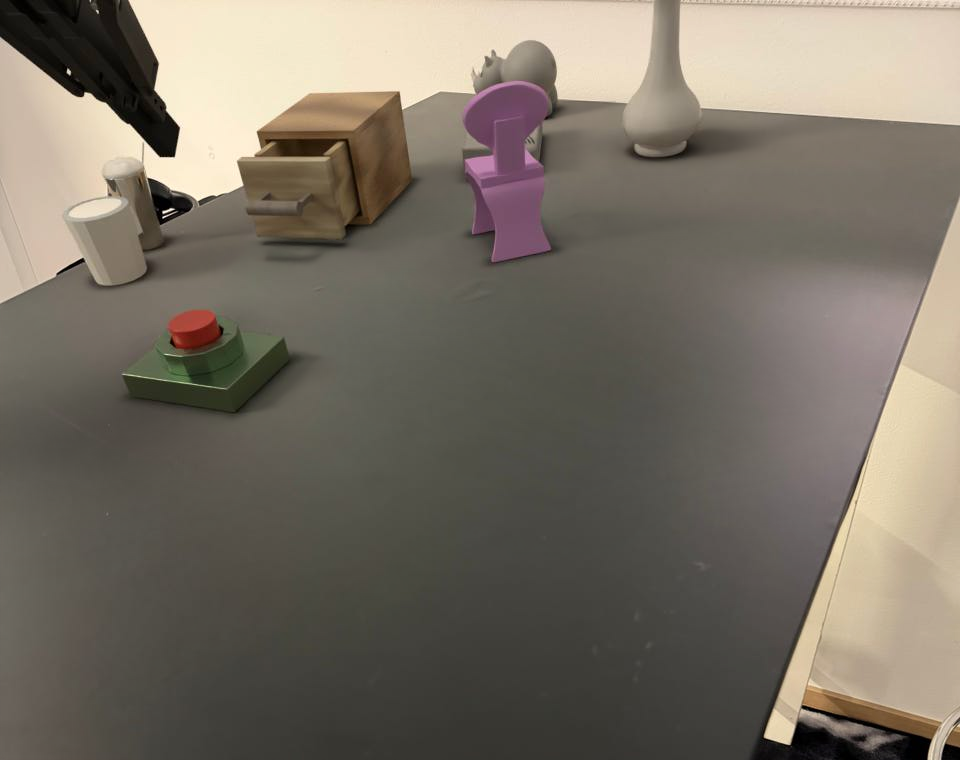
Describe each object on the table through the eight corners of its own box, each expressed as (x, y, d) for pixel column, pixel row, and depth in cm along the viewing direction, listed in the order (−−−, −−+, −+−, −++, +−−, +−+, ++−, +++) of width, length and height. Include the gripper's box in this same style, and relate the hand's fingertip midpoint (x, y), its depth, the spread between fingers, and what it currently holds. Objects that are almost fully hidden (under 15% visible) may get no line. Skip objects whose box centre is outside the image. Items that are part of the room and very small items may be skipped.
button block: (130, 396, 76) (112, 354, 73) (191, 346, 81) (176, 305, 79) (234, 412, 72) (219, 368, 69) (290, 359, 78) (278, 316, 75)
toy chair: (534, 218, 95) (526, 57, 84) (561, 248, 89) (556, 78, 78) (461, 233, 94) (443, 72, 83) (482, 264, 88) (466, 95, 77)
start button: (165, 348, 74) (157, 329, 72) (193, 326, 76) (186, 307, 75) (203, 353, 72) (196, 333, 71) (230, 330, 75) (224, 311, 74)
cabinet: (370, 224, 98) (353, 130, 91) (279, 222, 101) (256, 131, 94) (412, 180, 107) (399, 91, 100) (327, 179, 110) (309, 93, 103)
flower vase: (585, 135, 112) (582, -120, 94) (733, 129, 108) (759, -139, 90) (571, 172, 103) (565, -102, 85) (732, 167, 99) (761, -121, 81)
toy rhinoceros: (483, 106, 125) (477, 36, 119) (564, 105, 122) (562, 32, 116) (467, 122, 121) (460, 50, 115) (550, 121, 117) (548, 47, 111)
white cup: (165, 263, 96) (141, 196, 91) (124, 291, 92) (96, 222, 87) (118, 258, 98) (92, 192, 93) (76, 284, 94) (46, 217, 89)
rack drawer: (326, 255, 91) (308, 175, 85) (239, 252, 94) (216, 174, 88) (384, 195, 102) (372, 120, 96) (305, 194, 104) (288, 121, 99)
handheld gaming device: (464, 181, 105) (461, 146, 102) (475, 140, 115) (473, 107, 112) (538, 177, 104) (537, 142, 101) (543, 136, 114) (542, 103, 111)
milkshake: (181, 242, 100) (149, 146, 93) (136, 256, 98) (100, 160, 91) (169, 231, 103) (137, 137, 96) (125, 244, 101) (89, 150, 94)
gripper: (-152, -51, 53) (97, 183, 76) (28, -63, 50) (230, 184, 73) (-128, -164, 54) (112, 102, 77) (51, -183, 51) (245, 100, 74)
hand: (169, 142), depth 75 cm, fingers closed
